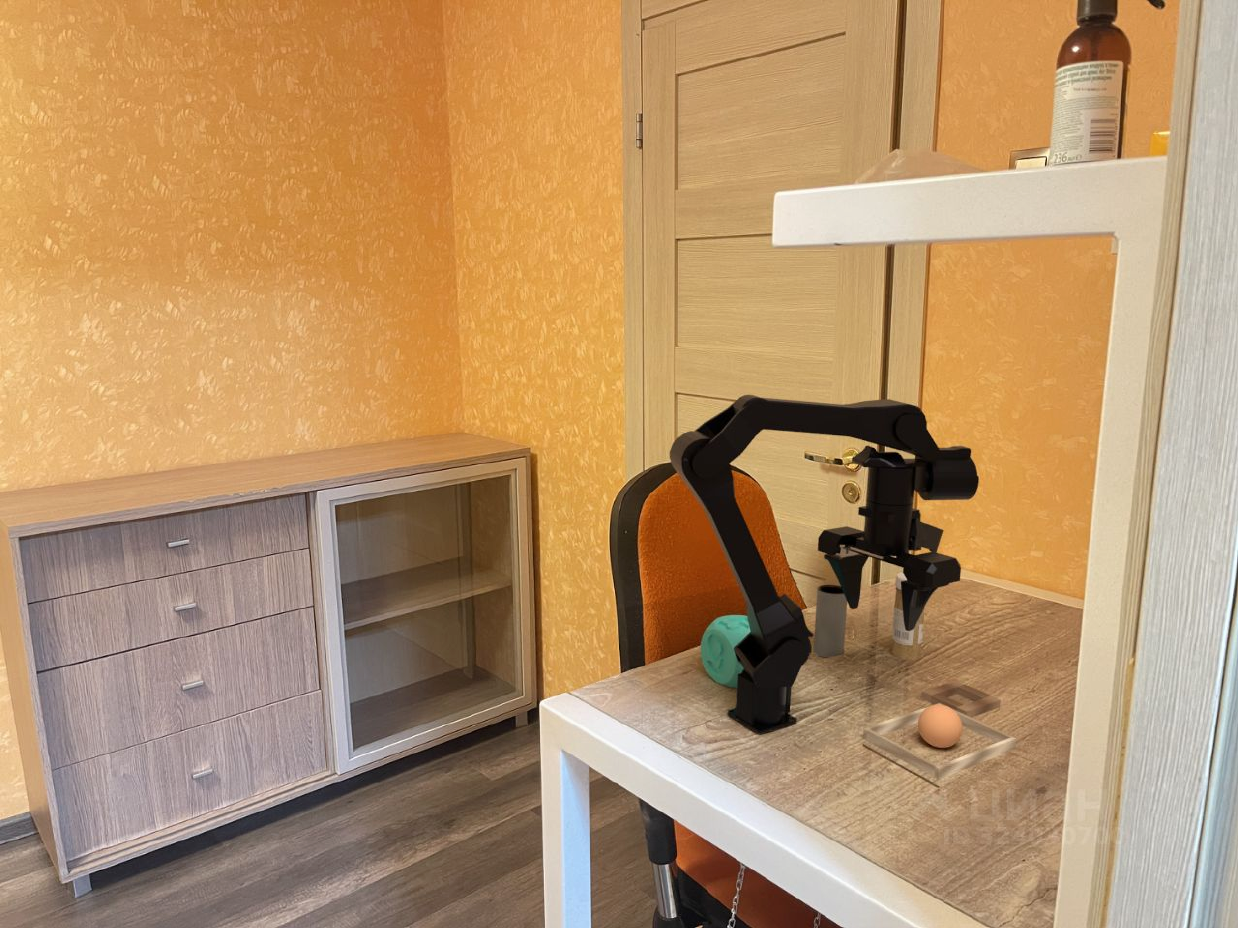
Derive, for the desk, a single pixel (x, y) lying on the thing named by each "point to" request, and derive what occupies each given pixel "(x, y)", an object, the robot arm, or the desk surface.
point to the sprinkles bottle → (904, 641)
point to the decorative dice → (724, 648)
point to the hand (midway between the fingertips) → (880, 618)
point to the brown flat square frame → (980, 699)
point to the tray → (930, 768)
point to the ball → (940, 726)
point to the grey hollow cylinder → (830, 621)
